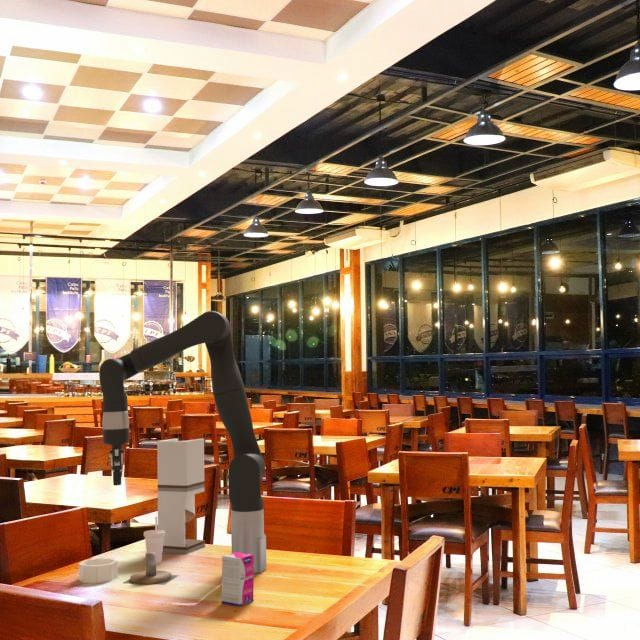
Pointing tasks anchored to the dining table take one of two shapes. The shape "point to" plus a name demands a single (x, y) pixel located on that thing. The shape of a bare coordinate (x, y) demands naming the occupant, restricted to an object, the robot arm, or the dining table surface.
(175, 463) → the white coffee maker
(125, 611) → the dining table surface
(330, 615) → the dining table surface
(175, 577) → the mat
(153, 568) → the lid
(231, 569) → the supplement box
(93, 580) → the bowl
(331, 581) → the dining table surface
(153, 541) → the smoothie
